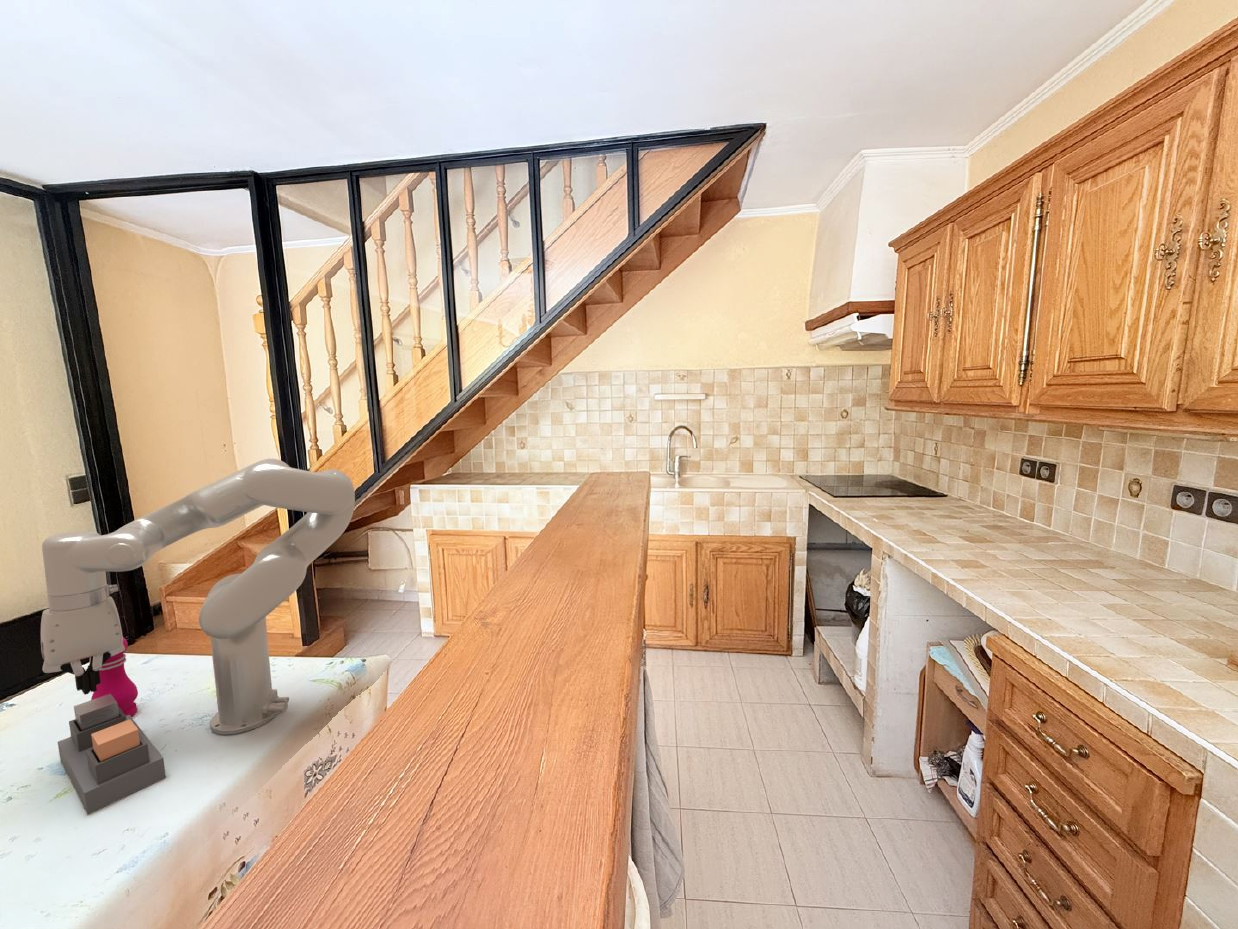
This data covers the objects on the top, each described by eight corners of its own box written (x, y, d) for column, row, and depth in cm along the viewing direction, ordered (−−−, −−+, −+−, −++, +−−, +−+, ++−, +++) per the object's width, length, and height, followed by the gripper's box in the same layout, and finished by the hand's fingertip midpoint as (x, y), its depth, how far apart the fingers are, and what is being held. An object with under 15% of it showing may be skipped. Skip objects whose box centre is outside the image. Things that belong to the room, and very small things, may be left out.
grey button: (119, 716, 97) (117, 702, 97) (81, 730, 93) (79, 715, 92) (112, 707, 100) (110, 693, 99) (75, 720, 96) (73, 706, 95)
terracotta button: (140, 744, 89) (138, 729, 89) (100, 761, 85) (98, 745, 85) (132, 734, 92) (130, 719, 92) (93, 749, 88) (91, 734, 87)
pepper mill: (110, 730, 104) (97, 639, 102) (84, 725, 106) (70, 636, 103) (149, 709, 111) (138, 624, 109) (123, 705, 113) (112, 621, 110)
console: (166, 777, 91) (161, 740, 90) (87, 815, 83) (81, 774, 82) (131, 732, 104) (127, 699, 103) (60, 761, 95) (54, 724, 94)
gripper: (128, 582, 101) (136, 668, 103) (13, 606, 89) (25, 702, 91) (139, 591, 97) (147, 679, 99) (20, 617, 85) (32, 717, 87)
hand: (89, 690), depth 95 cm, fingers closed
